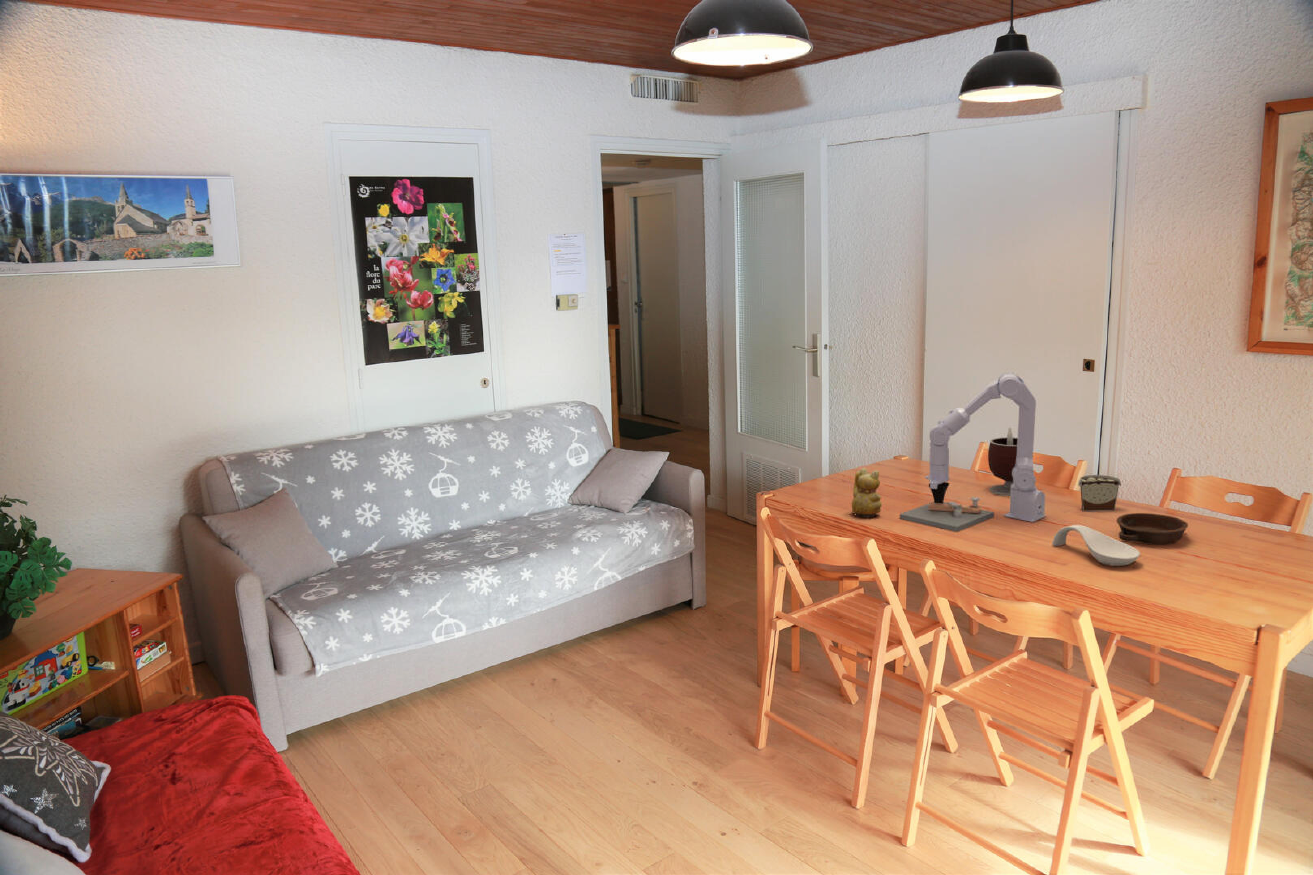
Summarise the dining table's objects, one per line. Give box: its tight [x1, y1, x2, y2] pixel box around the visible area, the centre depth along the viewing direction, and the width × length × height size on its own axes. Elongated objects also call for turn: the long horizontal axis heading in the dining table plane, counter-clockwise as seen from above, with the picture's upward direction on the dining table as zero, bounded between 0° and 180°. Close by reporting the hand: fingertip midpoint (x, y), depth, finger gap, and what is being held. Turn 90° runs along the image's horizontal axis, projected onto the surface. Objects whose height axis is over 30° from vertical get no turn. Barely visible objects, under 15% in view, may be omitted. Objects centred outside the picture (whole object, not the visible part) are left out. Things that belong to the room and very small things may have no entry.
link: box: [928, 496, 982, 513], centre depth 289 cm, size 15×4×4 cm, turn 66°
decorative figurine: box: [851, 467, 883, 519], centre depth 293 cm, size 10×8×15 cm
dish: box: [1116, 512, 1189, 545], centre depth 261 cm, size 18×22×5 cm
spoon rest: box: [1052, 524, 1141, 567], centre depth 248 cm, size 24×12×7 cm, turn 27°
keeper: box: [946, 501, 962, 518], centre depth 285 cm, size 2×5×4 cm, turn 10°
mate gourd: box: [987, 427, 1018, 497], centre depth 313 cm, size 16×14×20 cm
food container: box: [1077, 474, 1122, 512], centre depth 290 cm, size 12×6×10 cm, turn 84°
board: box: [899, 501, 995, 532], centre depth 288 cm, size 20×20×2 cm
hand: (938, 505), depth 293 cm, fingers closed
